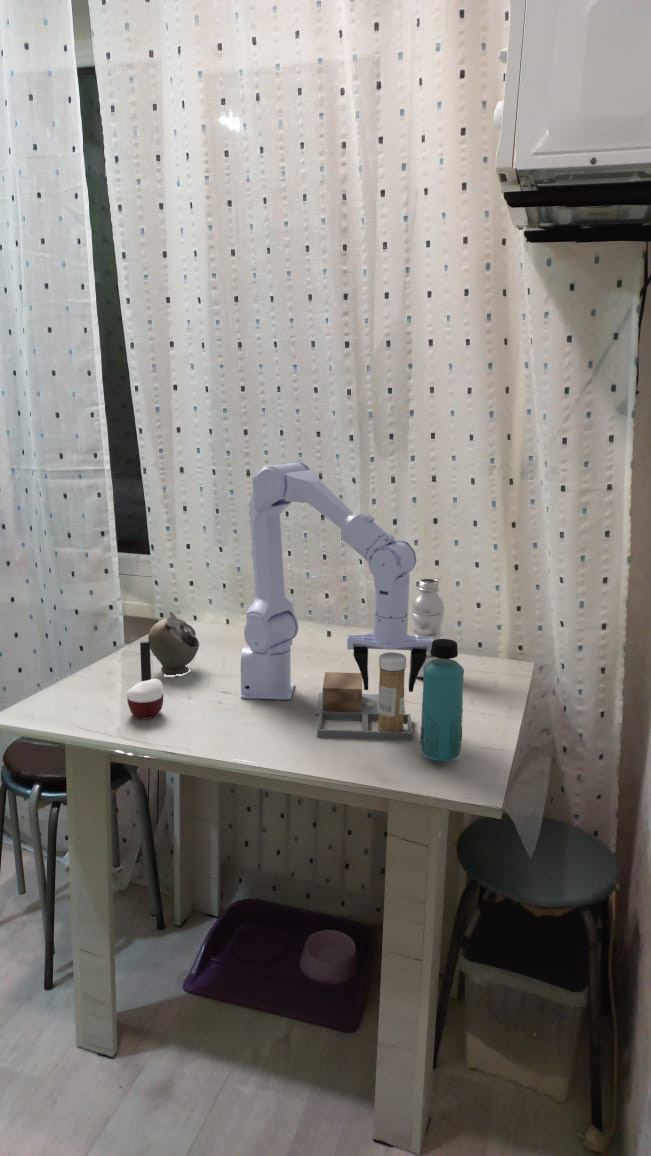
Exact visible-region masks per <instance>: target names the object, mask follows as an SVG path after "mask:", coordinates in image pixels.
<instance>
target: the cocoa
mask: <svg viewBox="0 0 651 1156" xmlns="http://www.w3.org/2000/svg"><path fill="white" fill-rule="evenodd" d="M139 647H140V648H139V650H140V653H139V654H140V676H141V678H140V679H141V680H140V682H138V683H136V684H134V686H132V687H131V688H130V689H128V690H127V691H126V693H125V695H126V698H127V699H126V700H127V704H128V708H129V711H130V712H131V715H132V716H133V717H136V718H138V719H141V718H148V719H151V718H150V717H152V718H154V717H156V716H157V715H159V713H160V712H161V711H162V709H163V705H164V694H163V693H164V692H163V691H164V688H163V682H162V681H161V680H159V679H158V678H152V669H151V667H152V666H151V649H150V642H149V641H148V640H147V641H146V640H145V641H141V642H140V643H139Z"/></svg>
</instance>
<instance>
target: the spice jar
mask: <svg viewBox="0 0 651 1156" xmlns="http://www.w3.org/2000/svg"><path fill="white" fill-rule="evenodd" d="M378 659H379V660H378V667H379V682H378V694H379V703H378V711H379V720H378V723H377V729H378V731H385V732H403V731H404V721H403V712H404V713H405V708H404V707H405V674H406V673H405V670H406V668H407V657H406V656H405V654H402V653H400V652H393V651H392V652H389V651H388V652H383V653H382V654H380V655H379V658H378Z"/></svg>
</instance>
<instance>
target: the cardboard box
mask: <svg viewBox="0 0 651 1156" xmlns="http://www.w3.org/2000/svg"><path fill="white" fill-rule="evenodd" d="M323 678H324V679H323V684H322V693H323V709H322V711H343V712H361V702H362V694H363V679H362V675H361V672H337V671H336V672H335V671H333V672H332V671H325V672H324V677H323Z"/></svg>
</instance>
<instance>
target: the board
mask: <svg viewBox="0 0 651 1156" xmlns="http://www.w3.org/2000/svg"><path fill="white" fill-rule="evenodd" d="M316 699H317V700H316V705H315V711H314V716H319V715H320V711H322V709H323V692H318V693H317V698H316ZM378 703H379V693H377V694H376V693H374V694H373V693H362V702H361V713H379V711H378ZM332 712H343V711H332ZM403 714H405V711H404V712H403Z"/></svg>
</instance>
